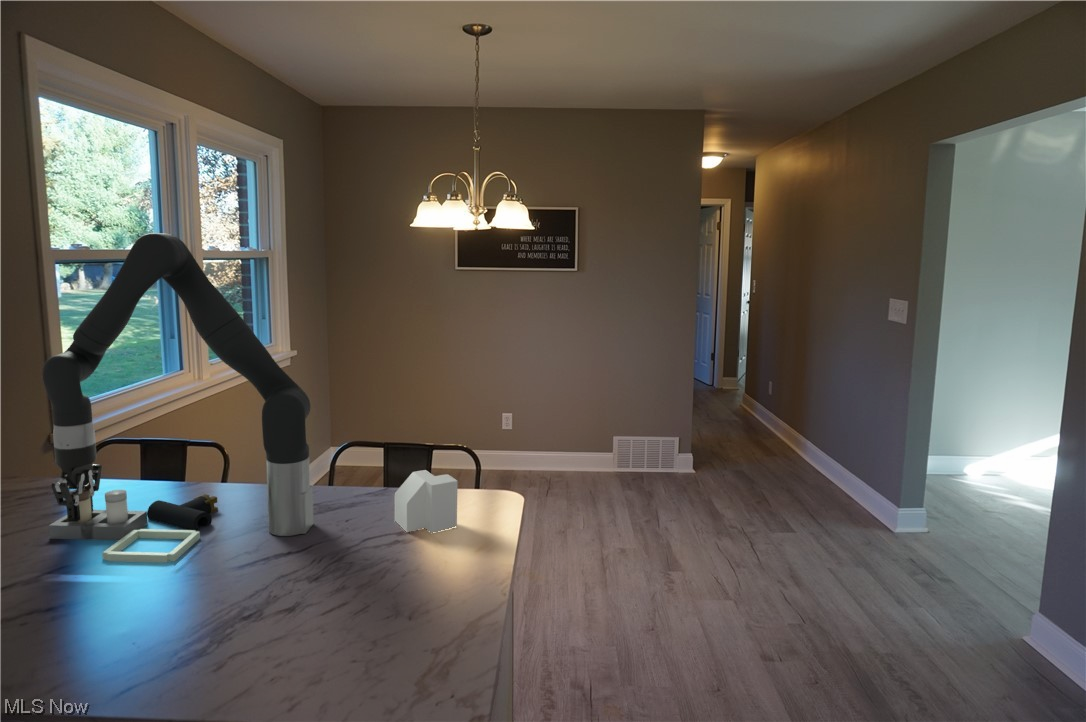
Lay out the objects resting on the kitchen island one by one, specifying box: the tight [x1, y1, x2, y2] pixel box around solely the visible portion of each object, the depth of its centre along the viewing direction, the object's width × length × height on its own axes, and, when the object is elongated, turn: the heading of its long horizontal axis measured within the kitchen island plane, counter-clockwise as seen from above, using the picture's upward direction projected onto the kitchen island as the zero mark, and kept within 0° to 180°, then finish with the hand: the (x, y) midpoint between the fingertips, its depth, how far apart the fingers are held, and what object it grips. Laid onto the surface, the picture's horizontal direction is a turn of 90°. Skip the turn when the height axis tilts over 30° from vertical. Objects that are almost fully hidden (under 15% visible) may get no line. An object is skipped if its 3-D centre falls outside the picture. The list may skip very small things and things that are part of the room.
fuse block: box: [48, 509, 148, 541], centre depth 153 cm, size 16×9×4 cm, turn 91°
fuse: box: [104, 489, 129, 524], centre depth 153 cm, size 4×4×9 cm
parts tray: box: [102, 528, 201, 566], centre depth 146 cm, size 14×12×2 cm
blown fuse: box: [71, 489, 92, 523], centre depth 153 cm, size 4×4×9 cm
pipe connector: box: [146, 493, 219, 531], centre depth 163 cm, size 12×5×15 cm
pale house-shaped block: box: [394, 469, 459, 534], centre depth 164 cm, size 11×11×12 cm
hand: (81, 516), depth 153 cm, fingers closed on blown fuse, 4 cm apart
